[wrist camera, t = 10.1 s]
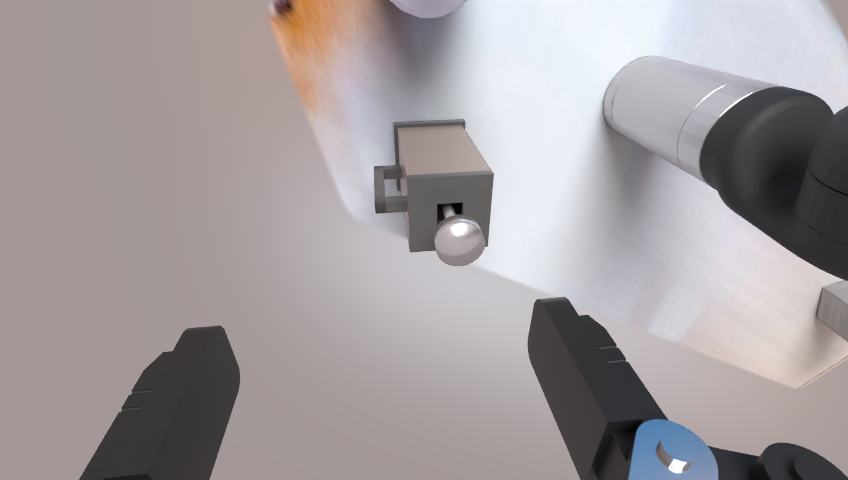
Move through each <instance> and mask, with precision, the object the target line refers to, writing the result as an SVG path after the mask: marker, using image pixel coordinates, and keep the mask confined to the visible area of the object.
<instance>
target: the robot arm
mask: <svg viewBox="0 0 848 480" xmlns="http://www.w3.org/2000/svg"><path fill="white" fill-rule="evenodd" d="M603 108H604V115H605V118H606V121H607V122H608V124H609V125H610V127H612V128H613V129H614V130H615V131H617V132H619V133H620V134H622V135H624V136H625V137H627V138H629V139H630V140H632V141H634V142H635V143H637V144H639V145H641V146H642V147H644V148H646V149H647V150H649V151H651V152H653V153H654V154H656V155H658V156H659V157H661V158H663V159H664V160H666V161H668V162H670V163H671V164H673V165H675V166H676V167H678V168H680V169H682V170H683V171H685V172H687V173H688V174H690V175H692V176H694V177H696V178H697V179H699V180H701V181H702V182H704V183H706V184H707V185H709V186H711V187H712V188H714V189H716V190H717V191H718V193H719V195H720V197H721V199H722V200H723V202H724V203H725V204H726V205H727V206H728V207H729V208H730V209H731V210H733V211H734V212H735V213H737V214H738V215H740V216H741V217H742V218H744V219H745V220H747V221H748V222H750V223H751V224H752V225H754V226H755V227H757V228H758V229H760V230H761V231H762V232H764V233H765V234H766V235H768V236H769V237H771V238H772V239H773V240H775V241H776V242H778V243H779V244H780V245H782V246H783V247H785V248H786V249H788V250H789V251H791V252H792V253H794V254H795V255H797V256H798V257H800V258H801V259H803V260H805V261H807V262H808V263H810V264H812V265H813V266H815V267H817V268H819V269H821V270H823V271H825V272H827V273H829V274H832V275H834V276H836V277H838V278H841V279H843V280H846V281H848V106H847V107H845V108H843V109H842V110H840V111H839V112H837V113H836V114H835V115H834V114H833V112H832V110H831V109H830V107H829V106H828V105H827V104H826V102H825V101H823V100H822V99H821V98H819V97H817V96H815V95H813V94H811V93H807V92H804V91H800V90H796V89H792V88H787V87H784V86H779V85H775V84H771V83H767V82H763V81H759V80H754V79H749V78H745V77H741V76H737V75H733V74H729V73H725V72H720V71H716V70H712V69H708V68H704V67H700V66H696V65H691V64H687V63H683V62H680V61H675V60H671V59H667V58H662V57H658V56H646V57H642V58H639V59H637V60H634V61H632V62H631V63H629V64H628V65H626V66H625V67H624V68H623V69H622V70H621V71H620V72H619V73H618V74H617V75H616V76H615V77H614V79H613V80H612V81H611V83H610V85H609V87H608V89H607V92H606V95H605V98H604V106H603ZM528 352H529V358H530V361H531V364H532V367H533V369H534V371H535V374H536V376H537V378H538V381H539V383H540V385H541V388H542V390H543V392H544V395H545V397H546V399H547V402H548V404H549V406H550V409H551V411H552V413H553V416H554V418H555V420H556V423H557V425H558V428H559V430H560V432H561V435H562V437H563V439H564V442H565V444H566V446H567V448H568V451H569V453H570V456H571V458H572V460H573V463H574V465H575V467H576V470H577V472H578V475H579V477H580V479H581V480H848V478H847V476H845V475H844V474H843V473H842V472H841V471H840V470H839V469H838V468H837V467H836V466H834V465H833V464H832V463H831V462H829V461H828V460H826V459H825V458H823V457H822V456H820V455H818V454H817V453H815V452H813V451H811V450H809V449H806V448H804V447H801V446H798V445H794V444H790V443H775V444H772V445H769V446H768V447H767V448H766V449H765V450H764V451H763V453H762V454H761V455H760V457H759V456H754V455H749V454H744V453H738V452H733V451H728V450H723V449H718V448H714V447H710V446H707V445H706V444H705V443H704V442H703V441H702V439H700V438H699V437H698V436H697V435H696V434H694V433H693V432H692V431H690V430H689V429H687V428H685V427H684V426H682V425H679V424H677V423H675V422H672V421H669V420H668V419H667V417H666V416H665V415H664V414H663V412H662V411H661V409H660V408H659V406H658V405H657V403H656V402H655V400H654V399H653V397H652V396H651V394H650V393H649V392H648V390H647V389H646V388H645V386H644V384H643V383H642V381H641V380H640V379H639V377H638V376H637V374H636V373H635V371H634V370H633V368H632V367H631V365H630V364H629V362H626V358H625V357H624V355H623V354H622V352H621V351H620V349H619V348H617V347H616V343H615V342H614V341H613V339H612V338H611V336H610V335H609V334H608V332H607V330H606V329H605V328H604V327H603V326H601V325H600V324H599V323H598V322H596V321H595V320H594V319H592V318H591V317H590V316H589V315H583V316H579V315H578V314H577V312H576V311H575V309H574V307H573V306H572V304H571V303H570V301H569V300H568V299H567V298H566V297H559V298H548V299H537V300H536V301H535V303H534V308H533V313H532V320H531V325H530V331H529V337H528ZM239 385H240V371H239V367H238V364H237V361H236V359H235V356H234V354H233V351H232V348H231V345H230V343H229V340H228V338H227V335H226V332H225V330H224V329H223V327H221V326H210V327H199V328H188V329H186V330H185V331H184V332H183V334H182V335H181V337H180V339H179V341H178V343H177V344H176V346H175V348H174V350H173V351H172V352H163V353H162V354H161V355H160V356H159V357H158V358H157V359H156V360H155V361H153V362H152V363H151V364H150V365H149V366H148V367H147V368H146V369H145V370H144V371H143V373H142V374H141V376H140V378H139V379H138V381H137V383H136V384H135V386H134V388H133V390H132V394H131V395H129V396H128V398H127V400H126V401H125V403H124V405H123V406H122V412H119V413H118V415H117V417H116V418H115V420H114V422H113V423H112V425H111V427H110V428H109V430H108V432H107V434H106V435H105V437H104V439H103V440H102V442H101V443H100V445H99V447H98V449H97V450H96V452H95V454H94V455H93V457H92V459H91V460H90V462H89V464H88V465H87V467H86V469H85V471H84V472H83V474H82V476H81V477H80V479H79V480H209V479H210V476H211V473H212V470H213V467H214V464H215V461H216V458H217V454H218V451H219V448H220V446H221V442H222V439H223V436H224V433H225V430H226V427H227V424H228V421H229V418H230V415H231V412H232V409H233V406H234V403H235V400H236V397H237V394H238V390H239Z"/></svg>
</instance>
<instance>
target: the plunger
mask: <svg viewBox="0 0 848 480" xmlns="http://www.w3.org/2000/svg"><path fill="white" fill-rule="evenodd" d="M441 207H442V210H443V213H444V216H445V219H444V220H443V221H441V222H440V223H439V224H438V226H437V227H436V229H435V232H434V243H435V247H436V251H437V254H438V256H439V258H440V259H441V260H442V261H443V262H444V263H446V264H449V265H452V266H464V265H467V264H470V263H472V262H474V261H475V260H476V259H477V258H479V256H480V255H481V254H482V252H483V250H484V247H485V239H484V236H483V234H482V231H481V229H480V227H479V225H478V223H477V222H476V221H475V220H474V219H473V218H471V217H469V216H466V215H456V214H455V212H454V209H453V206H452V203H445V204H441Z"/></svg>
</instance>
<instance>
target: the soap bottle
mask: <svg viewBox="0 0 848 480" xmlns="http://www.w3.org/2000/svg"><path fill="white" fill-rule="evenodd" d="M390 1H391V2H392V3H393V4H394V5H395V6H396V7H398V8H399V9H400V10H402V11H403V12H406V13H409V14H411V15H414V16H416V17H419V18H440V17H442V16H444V15H447V14H449V13H451V12H453V11H456V10H457V9H458V8H459V7H460V6H461V5H462V4H463V3H465V2H466V1H467V0H390Z"/></svg>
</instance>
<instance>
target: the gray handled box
mask: <svg viewBox="0 0 848 480" xmlns="http://www.w3.org/2000/svg"><path fill="white" fill-rule="evenodd" d="M394 140H395V159H396V165H393V166H375V167H374V188H375V211H376V214H377V213H392V212H404V215H405V222H406V229H407V236H408V242H409V249H410V252H420V251H434V250H436V247H435V243H434V232H435V229H436V227H437V226H438V224H439V223H440V222H441V221H443V220H444V219H445V216H444V213H443V210H442V207H441V204H445V203H452V206H453V209H454V212H455V214H456V215H466V216H469V217H471V218H473V219H474V220H475V221H476V222H477V223H478V225H479V227H480V229H481V231H482V234H483V236H484V239H485V247H488V236H489V224H490V212H491V200H492V188H493V177H494V174H493V172H492V171H491V169H490V167H489V166H488V164H487V163H486V161H485V160H484V158H483V157H482V155H481V154H480V152H479V151H478V149H477V148H476V146H475V145H474V143H473V142H472V140H471V139H470V137H469V136H468V134H467V132H466V131H465V121H464V119H457V120H435V121H413V122H394ZM384 179H397V191H400V190H401V195H402V196H394V197H385V188H384Z"/></svg>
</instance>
